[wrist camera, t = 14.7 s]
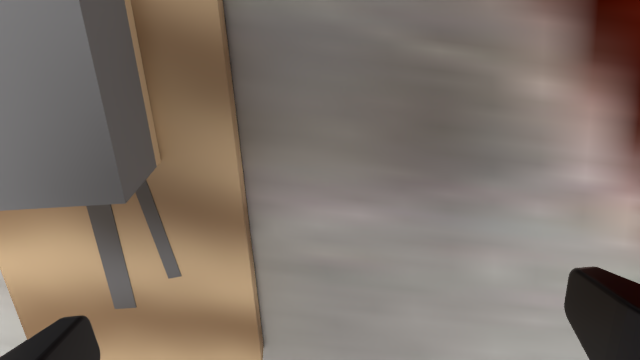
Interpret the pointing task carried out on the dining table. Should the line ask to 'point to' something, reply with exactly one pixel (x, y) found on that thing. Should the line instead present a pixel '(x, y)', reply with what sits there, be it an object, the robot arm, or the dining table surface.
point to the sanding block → (72, 105)
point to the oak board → (155, 218)
